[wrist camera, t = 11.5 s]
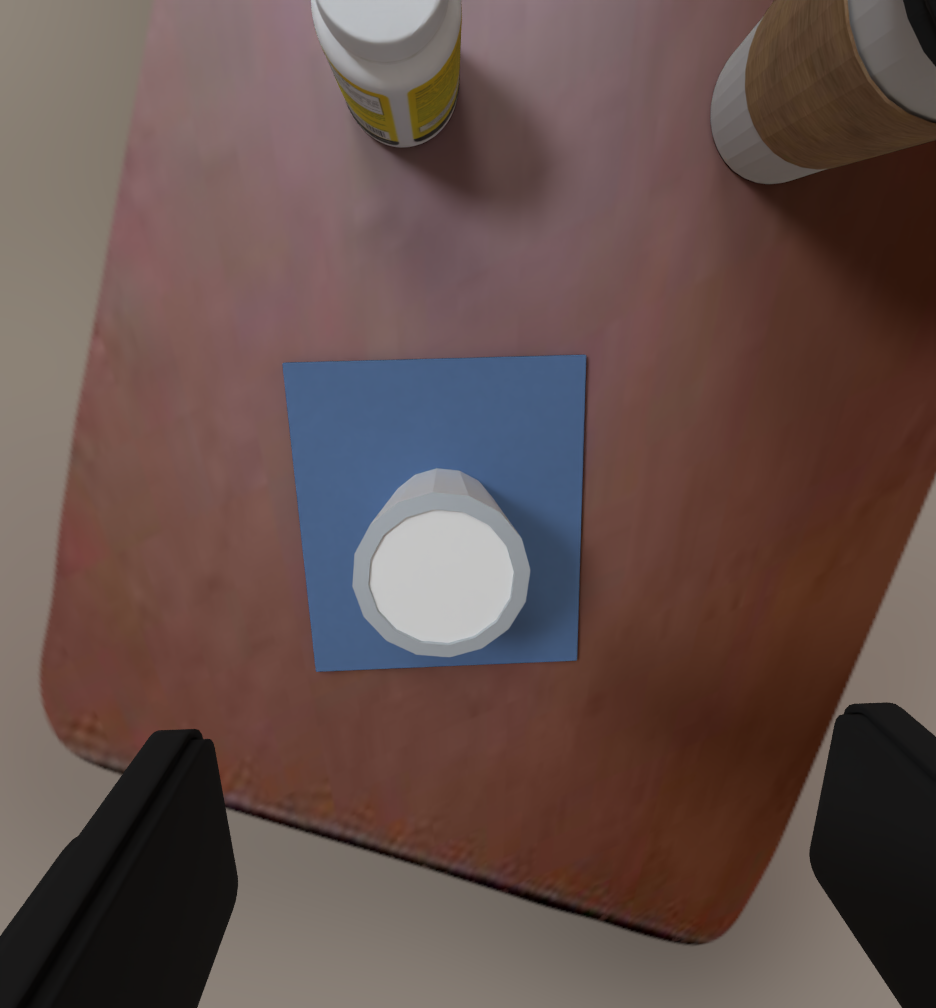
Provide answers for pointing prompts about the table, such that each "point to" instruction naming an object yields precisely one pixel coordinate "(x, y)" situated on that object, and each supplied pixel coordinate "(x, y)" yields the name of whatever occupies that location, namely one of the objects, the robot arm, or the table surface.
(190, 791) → the robot arm
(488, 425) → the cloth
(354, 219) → the table surface
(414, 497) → the white cup
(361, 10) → the supplement bottle
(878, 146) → the coffee cup
